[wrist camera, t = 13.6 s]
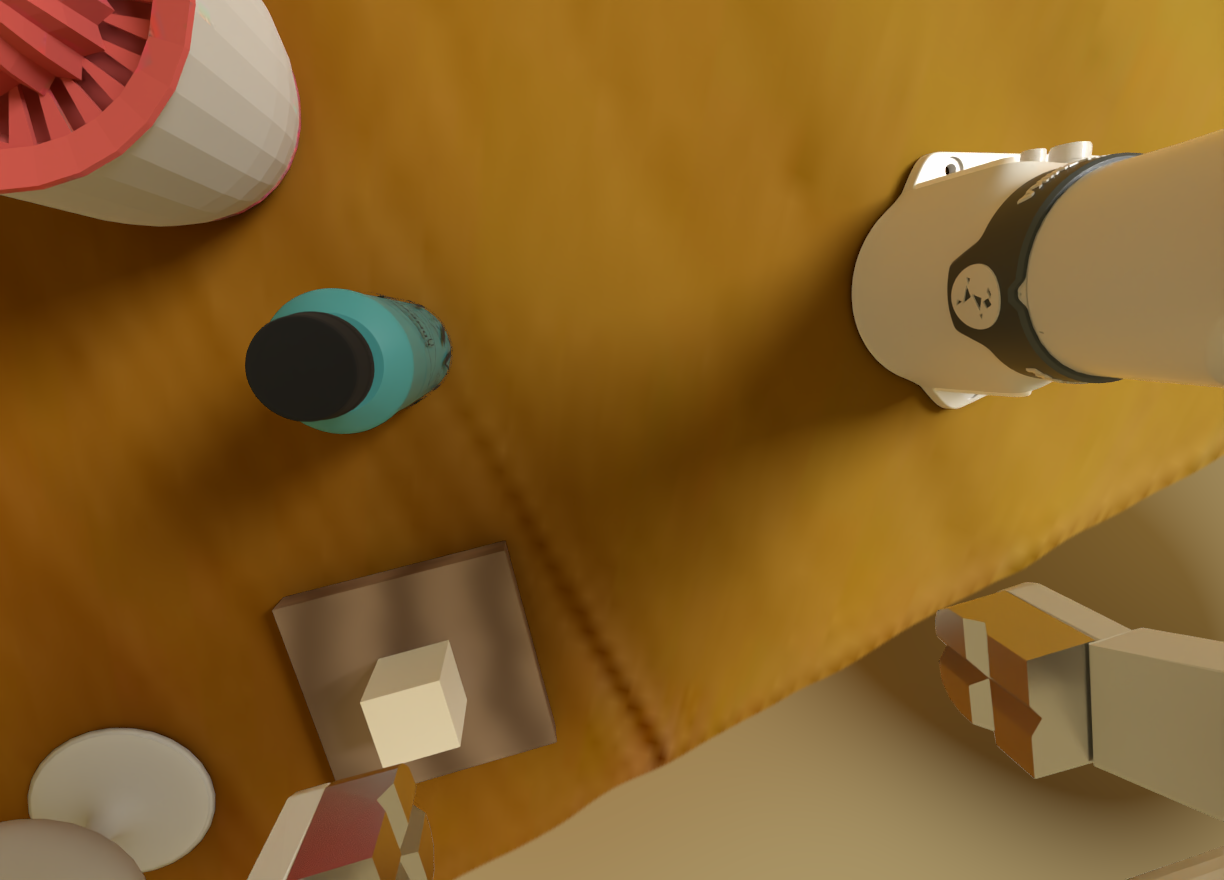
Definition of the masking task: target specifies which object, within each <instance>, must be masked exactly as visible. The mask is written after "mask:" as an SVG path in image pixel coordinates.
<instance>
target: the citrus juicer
mask: <svg viewBox="0 0 1224 880" xmlns="http://www.w3.org/2000/svg"><path fill="white" fill-rule="evenodd" d="M300 128H301V109H300V98H299V93H298V89H297V85H296V80H295V76H294V74H293V71H292V69H291V64H290V60H289V57H288V55H287V53H286V50H285V48H284V46H283V43H282V41H281V39H280V36H279V34H278V32H277V29H276V27H275V25H274V22H273V20H272V18H271V16H270V13H269V11H268V9H267V8H266V6H265V5H264V3H263V2H262V0H0V195H3V196H7V197H11V198H15V199H19V200H23V201H27V202H31V203H35V204H39V205H44V206H48V207H52V208H56V209H60V210H64V211H68V212H72V213H76V214H80V215H84V216H88V217H92V218H97V219H101V220H105V221H112V222H118V223H124V224H133V225H146V226H181V225H189V224H198V223H206V222H209V221H217V220H223V219H226V218H229V217H232V216H235V215H238V214H241V213H243V212H245V211H246V210H248V209H250V208H251V207H253V206H255V205H256V204H258V203H260V202H261V201H263V200H264V199H265V198H266V197H267V196H268V195H269V194H270V193H271V192H272V191H273V190H274V189H275V188H276V187H277V186H278V185H279V184H280V182H281V181H282V179H283V178H284V176H285V175H286V173H287V172H288V170H289V169H290V166H291V164H292V161H293V159H294V156H295V154H296V151H297V147H298V141H299V135H300Z"/></svg>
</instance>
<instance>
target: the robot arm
mask: <svg viewBox="0 0 1224 880" xmlns="http://www.w3.org/2000/svg"><path fill="white" fill-rule="evenodd" d="M1046 152H1047V150H1046V149H1045V148H1038V149H1032V150H1027V151H1024V152H1022V153H1021V154H1014V153H970V152H935V153H930V154H927V155H924V156H922V157H921V158H920V159H919V160H918V161H917V162H916V163H915V165H914V167H913V168H912V171H911V173H910V175H909V177H908V179H907V182H906V184H905V186H904V189H903V191H902V194H901V195H900V196H899V198H898V199H897V200H896V201H895V203H894V204H893V205H892V206H891V207H890V208H889V209H888V210H887V211H886V212H885V213H884V214H883V215H882V216H881V217H880V219H879V220H878V221H877V222H876V224H875V225H874V226H873V228H872V229H871V231H870V232H869V234H868V236H867V237H866V239H865V241H864V243H863V245H862V248H861V250H860V253H859V255H858V258H857V261H856V265H855V269H854V274H853V281H852V307H853V314H854V318H855V322H856V325H857V329H858V331H859V334H860V336H861V338H862V340H863V342H864V344H865V345H866V347H867V348H868V350H869V351H870V353H871V354H872V355H873V356H874V358H875V359H876V360H877V361H878V362H879V363H880V364H882V365H883V366H884V367H885V368H887V369H888V370H889V371H891V372H893V373H894V374H896V375H898V376H900V377H903V378H905V379H907V380H910V381H912V382H914V383H916V384H918V385H919V386H921V387H922V388H923V390H924V391H925V392H926V393H927V395H928V396H929V397H930V398H931V399H932V400H933V401H934V402H935V403H936V404H937V405H938V406H940V407H942V408H946V409H958V408H961V407H963V406H965V405H967V404H970V403H972V402H974V401H976V400H978V399H980V398H982V397H984V396H986V395H995V396H1009V397H1024V396H1028V395H1030V394H1031V392H1032V390H1035V389H1038V388H1040V387H1043V386H1045V385H1047V384H1049V383H1050V382H1052V381H1054V382H1059V383H1071V384H1086V383H1106V382H1114V381H1118V380H1121V379H1134V380H1145V381H1156V382H1166V383H1178V384H1189V385H1200V386H1211V387H1222V388H1224V129H1221V130H1219V131H1216V132H1213V133H1210V134H1207V135H1204V136H1201V137H1198V138H1195V139H1192V140H1189V141H1186V142H1182V143H1179V144H1176V145H1173V146H1169V147H1166V148H1163V149H1160V150H1156V151H1153V152H1150V153H1146V154H1142V153H1119V154H1111V155H1103V156H1094V155H1092V144H1091V142H1089V141H1081V142H1073V143H1067V144H1062V145H1059V146H1055V147H1053V148H1051V149H1050V151H1049V154H1047V153H1046ZM946 167H948V169H949V174H948V175H946V173H945V168H946ZM935 627H936V636H938V637H939V638H940V639H941V640H942V641H943V642H944V643H945V644H946V645H947V646H946V648H945V650H944V652H943V654H942V656H941V658H940V660H939V665H940V671H941V679H942V682H943V684H944V687H945V689H946V691H947V693H948V695H949V698H950V699H951V701H952V702H953V703H954V705H955V706H956V707H957V709H958V710H959V712H960V713H961V714H963V715H964V716H965V717H966V718H967V719H968V720H969V721H970V722H971V723H972V724H975V725H978V726H981V727H984V728H986V729H989V730H992V731H994V734H995V741H996V745H997V746H998V747H999V748H1000V749H1001V750H1002V751H1004V752H1005V753H1006V754H1007V755H1008V756H1009V757H1010V758H1012V759H1013V760H1014V761H1015V762H1016V763H1017V764H1018V765H1019V766H1021V767H1022V768H1023V769H1024V770H1025V771H1026V772H1028V774H1030V775H1031V776H1032V777H1033V778H1034V779H1037V778H1040V777H1044V776H1047V775H1051V774H1054V773H1058V772H1061V771H1065V770H1068V769H1072V768H1075V767H1079V766H1082V765H1086V764H1089V763H1093V762H1094V766H1095V767H1098V768H1100V769H1103V770H1105V771H1107V772H1110V773H1112V774H1114V775H1117V776H1119V777H1121V778H1123V779H1126V780H1128V781H1130V782H1133V783H1135V784H1138V785H1140V786H1142V787H1144V788H1147V789H1149V790H1151V791H1154V792H1156V793H1158V794H1160V795H1163V796H1165V797H1168V798H1170V799H1172V800H1174V801H1177V802H1179V803H1181V804H1184V805H1186V806H1188V807H1191V808H1193V809H1195V810H1198V811H1200V812H1202V813H1204V814H1207V815H1209V816H1211V817H1214V818H1216V819H1219V820H1221V821H1223V822H1224V642H1221V641H1215V640H1209V639H1203V638H1198V637H1192V636H1187V635H1181V634H1175V633H1169V632H1164V631H1158V630H1153V629H1147V628H1139V629H1136V630H1130V629H1128V628H1126V627H1124V626H1122V625H1120V624H1118V623H1116V622H1114V621H1112V620H1111V619H1108V618H1106V617H1105V616H1103V615H1101V614H1099V613H1097V612H1095V611H1093V610H1090V609H1089V608H1086V607H1084V606H1082V605H1081V604H1079V603H1077V602H1075V601H1073V600H1070V599H1069V598H1067V597H1065V596H1062V595H1061V594H1059V593H1057V592H1055V591H1053V590H1051V589H1049V588H1047V587H1045V586H1043V585H1041V584H1039V583H1031V582H1026V583H1022V584H1019V585H1016V586H1013V587H1010V588H1007V589H1004V590H1001V591H998V592H997V593H994V594H991V595H988V596H985V597H981V598H978V599H974V600H971V601H968V602H964V603H961V604H958V605H954V606H951V607H947V608H944V609H941V610H938V611H937V615H936V619H935ZM416 787H417V786H416V784H415V781H414V779H413V776H412V773H411V771H410V768H409V767H408V766H406V765H405V764H403V763H401V764H397V765H393V766H390V767H386V768H382V769H378V770H374V771H371V772H367V773H363V774H359V775H355V776H352V777H348V778H344V779H340V780H336V781H333V782H332V783H325V784H322V785H318V786H315V787H312V788H308V789H305V790H301V791H298V792H296V793H294V794H293V795H292V796H290V797H289V798H288V799H287V801H286V803H285V805H284V807H283V809H282V811H281V813H280V815H279V817H278V819H277V821H276V823H275V825H274V827H273V829H272V831H271V833H270V835H269V837H268V839H267V841H266V843H265V845H264V847H263V849H262V851H261V853H260V855H259V857H258V859H257V861H256V863H255V865H254V867H253V869H252V871H251V873H250V875H249V877H248V879H247V880H433V875H434V845H433V840H432V834H431V829H430V825H429V822H428V819H427V816H426V813H425V812H423V811H422V810H420V809H419V808H417V807H415V806H414V805H413V801H414V796H415V792H416ZM1126 880H1224V846H1221V847H1219V848H1216V849H1213V850H1210V851H1207V852H1204V853H1201V854H1198V855H1196V856H1193V857H1190V858H1187V859H1184V860H1181V861H1178V862H1175V863H1173V864H1169V865H1166V866H1164V867H1161V868H1158V869H1155V870H1152V871H1149V872H1147V873H1144V874H1140V875H1138V876H1135V877H1132V878H1129V879H1126Z"/></svg>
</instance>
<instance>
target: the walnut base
mask: <svg viewBox="0 0 1224 880" xmlns="http://www.w3.org/2000/svg"><path fill="white" fill-rule="evenodd" d="M272 612H273V615H274V617H275V620H276V623H277V625H278V628H279V631H280V633H281V636H282V639H283V641H284V644H285V647H286V649H287V652H288V655H289V657H290V660H291V663H292V665H293V668H294V671H295V673H296V676H297V679H298V681H299V684H300V687H301V689H302V692H303V695H304V697H305V700H306V703H307V705H308V708H309V711H310V714H311V716H312V719H313V722H314V724H315V727H316V730H317V732H318V735H319V738H320V740H321V743H322V746H323V748H324V751H325V754H326V756H327V759H328V762H329V764H330V767H331V770H332V772H333V775H334V778H335V780H340V779H344V778H348V777H352V776H355V775H359V774H363V773H367V772H371V771H374V770H378V769H382V768H383V767H382V764H381V761H380V758H379V755H378V753H377V750H376V747H375V744H374V741H373V738H372V735H371V733H370V730H369V727H368V724H367V721H366V718H365V716H364V713H363V710H362V707H361V704H360V701H361V699H362V696H363V694H364V692H365V689H366V687H367V685H368V682H369V680H370V677H371V675H372V673H373V670H374V668H375V666H376V663H377V661H378V659H380V658H384V657H387V656H391V655H395V654H399V653H402V652H406V651H410V650H413V649H417V648H421V647H424V646H428V645H432V644H436V643H439V642H443V641H447V640H449V643H450V646H451V649H452V652H453V656H454V659H455V662H456V665H457V669H458V672H459V675H460V679H461V682H462V685H463V688H464V692H465V695H466V698H467V704H466V711H465V718H464V725H463V732H462V739H461V746H460V747H458V748H454V749H451V750H448V751H444V752H441V753H437V754H434V755H430V756H427V757H423V758H420V759H416V760H413V761H409V762H406V763H403V764H405V765H406V766H408V767H409V768H410V771H411V773H412V776H413V779H414V781H415V784H416V783H419V782H422V781H426V780H429V779H433V778H436V777H440V776H443V775H446V774H450V773H453V772H457V771H460V770H463V769H467V768H470V767H474V766H477V765H480V764H484V763H487V762H491V761H494V760H498V759H501V758H504V757H508V756H511V755H515V754H518V753H521V752H525V751H528V750H532V749H535V748H539V747H542V746H545V745H549V744H552V743H556V742H557V739H556V727H555V722H554V718H553V715H552V711H551V707H550V703H549V700H548V696H547V692H546V689H545V685H544V681H543V678H542V674H541V670H540V667H539V663H538V659H537V656H536V652H535V648H534V644H533V641H532V637H531V633H530V630H529V626H528V622H527V619H526V615H525V611H524V608H523V604H522V600H521V596H520V593H519V589H518V585H517V582H516V578H515V574H514V571H513V567H512V563H511V560H510V556H509V552H508V548H507V545H506V541H501V542H497V543H493V544H489V545H486V546H482V547H478V548H474V549H470V550H466V551H462V552H458V553H454V554H450V555H447V556H443V557H439V558H435V559H431V560H427V561H423V562H419V563H415V564H411V565H407V566H404V567H400V568H396V569H392V570H388V571H384V572H380V573H376V574H372V575H368V576H365V577H361V578H357V579H353V580H349V581H345V582H341V583H337V584H333V585H329V586H326V587H322V588H318V589H314V590H310V591H306V592H302V593H298V594H294V595H290V596H286V597H283V598H282V599H281V601H280V602H279V603H278V604H277V605H276V606H275V608H274V609H273V610H272Z"/></svg>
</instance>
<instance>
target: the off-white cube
mask: <svg viewBox="0 0 1224 880" xmlns="http://www.w3.org/2000/svg"><path fill="white" fill-rule="evenodd" d="M360 704H361V707H362V710H363V713H364V716H365V718H366V721H367V724H368V727H369V730H370V733H371V735H372V738H373V741H374V744H375V747H376V750H377V753H378V755H379V758H380V761H381V764H382V767H383V768H386V767H390V766H393V765H397V764H401V763H406V762H409V761H413V760H416V759H420V758H423V757H427V756H430V755H434V754H437V753H441V752H444V751H448V750H451V749H454V748H458V747H460V746H461V739H462V732H463V725H464V718H465V711H466V704H467V698H466V695H465V692H464V688H463V685H462V682H461V679H460V675H459V672H458V669H457V665H456V662H455V659H454V656H453V652H452V649H451V646H450V643H449V640H447V641H443V642H439V643H436V644H432V645H428V646H424V647H421V648H417V649H413V650H410V651H406V652H402V653H399V654H395V655H391V656H387V657H384V658H380V659H378V661H377V663H376V666H375V668H374V670H373V673H372V675H371V677H370V680H369V682H368V685H367V687H366V689H365V692H364V694H363V696H362V699H361V701H360Z"/></svg>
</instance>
